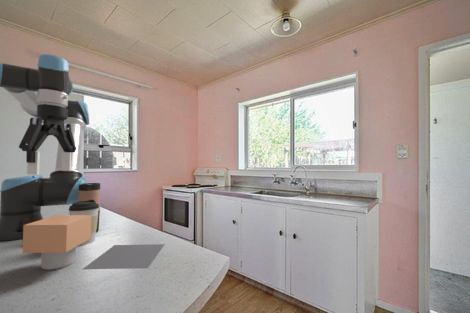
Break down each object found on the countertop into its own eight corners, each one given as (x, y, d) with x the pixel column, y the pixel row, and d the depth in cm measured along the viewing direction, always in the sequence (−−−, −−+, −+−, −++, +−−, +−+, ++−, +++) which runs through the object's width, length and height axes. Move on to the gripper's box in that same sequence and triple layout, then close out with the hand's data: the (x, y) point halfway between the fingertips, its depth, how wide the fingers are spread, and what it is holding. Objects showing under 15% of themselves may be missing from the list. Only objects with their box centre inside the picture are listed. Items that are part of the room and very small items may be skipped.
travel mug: (102, 231, 91) (104, 183, 92) (82, 236, 85) (83, 185, 85) (93, 228, 95) (95, 182, 96) (73, 233, 89) (75, 184, 89)
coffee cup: (82, 249, 72) (83, 204, 72) (60, 247, 74) (61, 202, 74) (104, 240, 81) (105, 199, 81) (83, 238, 83) (84, 198, 83)
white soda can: (36, 275, 55) (38, 227, 56) (45, 263, 62) (47, 220, 62) (72, 268, 59) (74, 224, 59) (77, 258, 65) (78, 218, 66)
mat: (114, 246, 74) (114, 245, 74) (164, 246, 75) (164, 244, 75) (82, 271, 57) (82, 269, 57) (147, 270, 58) (147, 267, 58)
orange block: (54, 238, 66) (55, 215, 66) (91, 238, 66) (91, 215, 66) (22, 253, 55) (23, 225, 55) (66, 252, 56) (66, 224, 56)
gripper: (32, 95, 57) (30, 176, 57) (88, 113, 82) (87, 169, 82) (1, 94, 57) (-1, 175, 57) (67, 113, 81) (66, 169, 82)
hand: (51, 172), depth 69 cm, fingers open, 13 cm apart
